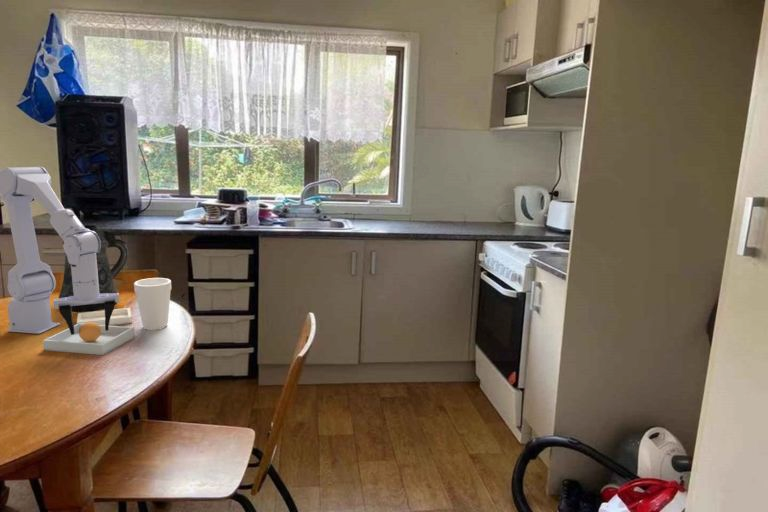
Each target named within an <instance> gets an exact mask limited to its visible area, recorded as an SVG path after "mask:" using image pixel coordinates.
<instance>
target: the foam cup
mask: <svg viewBox="0 0 768 512" xmlns="http://www.w3.org/2000/svg"><path fill="white" fill-rule="evenodd" d="M133 287H134V290H133V291H134V293H135V296H136V297H135V298H136V301H137V306H138V309H139V315H140V320H141V324H142V326H143V329H144V330H146V329H147V331H157V330H156V329H159V330H161V329H160V328H163V329H165V328H166V327H165V326H167V327H168V325H167V324H169V313H170V312H169V311H170V300H171V291H172V280H171V279H170V278H167V277H166V278H165V277H152V278H151V277H149V278H144V279H143V278H142V279H139V280H136V281H135V282H133ZM164 327H165V328H164Z"/></svg>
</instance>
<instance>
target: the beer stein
mask: <svg viewBox="0 0 768 512" xmlns="http://www.w3.org/2000/svg"><path fill="white" fill-rule="evenodd" d="M83 226H84V227H85V228H86V229H87V228H88V229H89V230H90V231H94V232H96V233H97V235H98V237H99V239H100V242H101V248H100V251H99V252H98V253H96V258H97V270H98V282H99V294H109V293H119V291H118V289H117V288H116V286H115V283H114V282H113V279H115V278H116V277H117V276H118V275H119V274H120V273H121V271H122V270H123V268H124V267H125V265H126V264H127V262H128V259H129V249H128V247H127V245H126V244H127V243H126V242H125V241H124V240H122V239H120V238H118V237H116V235H115V233H114V232H112V231H111V230H109V229H100V228H98V227H97V225H90V224H89V225H83ZM63 245H64V241H63V240H62V246H63ZM107 248H108V249H109V248H110V249H111V248H117V249H118V250H119V253H120V254H119V258H118V260H117V261H116V262H115V264H114V265H113V267H112V268H110V260H109V258H108V254H107ZM64 258H65V260H64V268H63V269H64V271H63V272H64V273H63V280H62V284H61V289H60V292H59V294H58V298H65V297H71V296H74V293H73V283H72V272H71V264H69V261H68V258H67V255H66V254H65V257H64ZM117 304H118V302H115V306H116V305H117ZM94 311H104V303H97V304H87V305H76V306H72V313H84V312H94Z"/></svg>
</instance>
